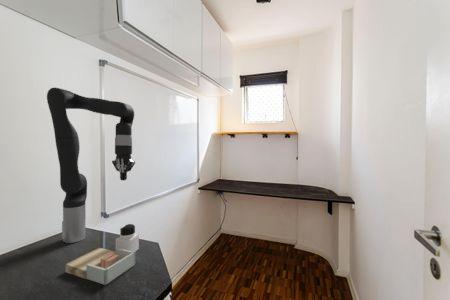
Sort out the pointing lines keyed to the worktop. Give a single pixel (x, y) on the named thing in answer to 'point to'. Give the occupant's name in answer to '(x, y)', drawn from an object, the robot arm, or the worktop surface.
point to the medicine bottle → (128, 238)
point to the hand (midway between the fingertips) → (123, 180)
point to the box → (111, 267)
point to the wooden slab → (86, 262)
